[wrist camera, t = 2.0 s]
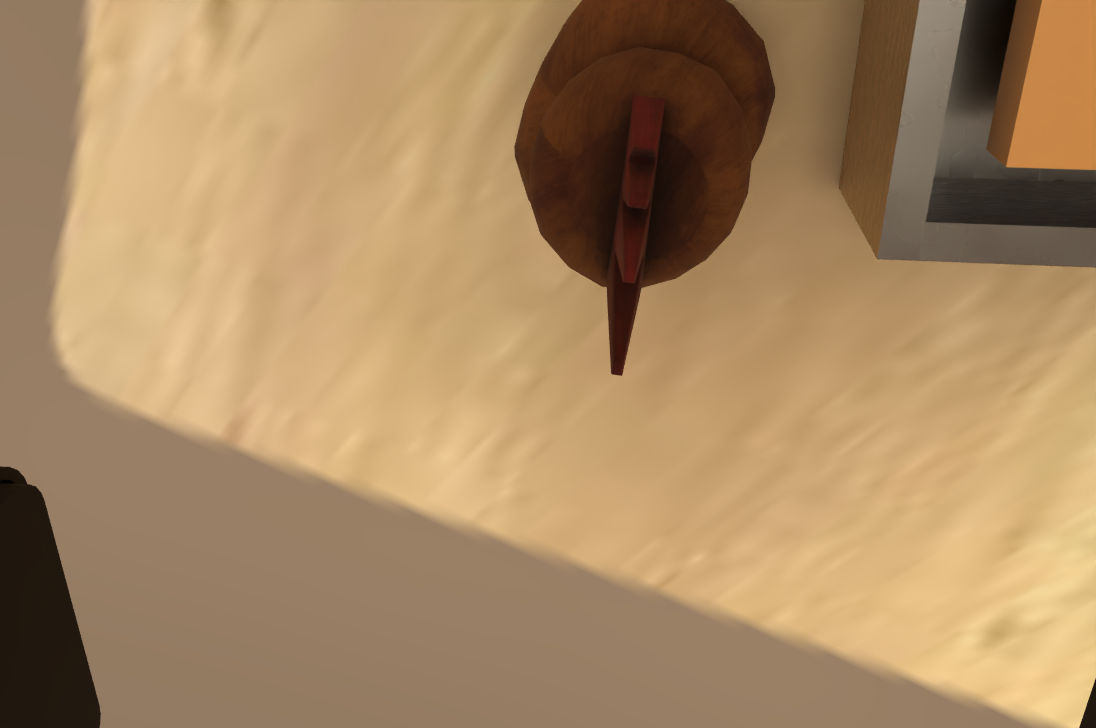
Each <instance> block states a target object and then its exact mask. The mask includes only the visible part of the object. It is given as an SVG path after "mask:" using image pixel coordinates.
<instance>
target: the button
mask: <svg viewBox="0 0 1096 728" xmlns="http://www.w3.org/2000/svg"><path fill="white" fill-rule="evenodd" d="M986 150H987V151H988V152H990V153H991V154H992V155H993V156H994V157H995V158H996V159H997V160H998V161H1000V162H1001V163H1002V164H1003V165H1004V166H1005V167H1015V168H1048V169H1081V170H1096V0H1017V2H1016V6H1015V11H1014V16H1013V21H1012V26H1011V31H1010V36H1009V40H1008V45H1007V50H1006V55H1005V60H1004V65H1003V70H1002V74H1001V79H1000V84H999V89H998V94H997V99H996V104H995V109H994V113H993V118H992V123H991V128H990V133H989V138H988V143H987V147H986Z"/></svg>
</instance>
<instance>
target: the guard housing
mask: <svg viewBox="0 0 1096 728" xmlns="http://www.w3.org/2000/svg"><path fill="white" fill-rule="evenodd" d="M1016 2H1017V0H865V7H864V14H863V21H862V28H861V35H860V42H859V49H858V57H857V64H856V71H855V78H854V85H853V92H852V99H851V106H850V114H849V121H848V128H847V135H846V142H845V149H844V156H843V164H842V171H841V178H840V185H839V189H840V191H841V193H842V195H843V196H844V198H845V200H846V202H847V204H848V206H849V208H850V209H851V211H852V213H853V215H854V217H855V219H856V221H857V222H858V224H859V226H860V228H861V230H862V232H863V233H864V235H865V237H866V239H867V241H868V243H869V245H870V246H871V248H872V250H873V252H874V254H875V256H876V258H877V259H889V260H915V261H941V262H967V263H993V264H1019V265H1046V266H1072V267H1096V170H1081V169H1048V168H1015V167H1005V166H1004V165H1003V164H1002V163H1001V162H1000V161H998V160H997V159H996V158H995V157H994V156H993V155H992V154H991V153H990V152H988V151H987V150H986V147H987V143H988V138H989V133H990V128H991V123H992V118H993V113H994V109H995V104H996V99H997V94H998V89H999V84H1000V79H1001V74H1002V70H1003V65H1004V60H1005V55H1006V50H1007V45H1008V40H1009V36H1010V31H1011V26H1012V21H1013V16H1014V11H1015V6H1016Z"/></svg>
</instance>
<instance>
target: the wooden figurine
mask: <svg viewBox="0 0 1096 728" xmlns="http://www.w3.org/2000/svg"><path fill="white" fill-rule="evenodd" d="M774 98H775V86H774V82H773V78H772V74H771V70H770V66H769V62H768V57H767V53H766V49H765V45H764V41H763V40H762V39H761V38H760V37H759V36H758V34H757V33H756V32H755V31H754V30H753V28H752V27H751V26H750V25H749V24H748V22H747V21H746V20H745V19H744V18H743V16H742V15H741V14H740V13H739V12H738V11H737V9H736V8H735V7H734V6H733V5H732V4H730V3H729V2H727V1H725V0H582V1H581V3H580V4H579V5H578V6H577V8H576V9H575V10H574V12H573V13H572V14H571V15H570V17H569V18H568V19H567V21H566V22H565V24H564V26H563V27H562V29H561V31H560V33H559V34H558V36H557V38H556V40H555V42H554V43H553V45H552V47H551V49H550V50H549V52H548V54H547V56H546V57H545V59H544V61H543V63H542V65H541V67H540V70H539V72H538V74H537V77H536V79H535V81H534V84H533V86H532V88H531V91H530V93H529V95H528V98H527V100H526V102H525V106H524V110H523V114H522V118H521V122H520V126H519V130H518V135H517V139H516V143H515V158H516V161H517V164H518V168H519V171H520V174H521V177H522V180H523V184H524V187H525V190H526V193H527V196H528V200H529V201H530V203H531V206H532V209H533V212H534V215H535V218H536V221H537V225H538V228H539V231H540V234H541V235H542V236H543V238H544V239H545V240H546V241H547V242H548V243H549V245H550V246H551V247H552V248H553V249H554V250H555V252H556V253H557V254H558V255H559V256H560V257H561V259H562V260H563V261H564V262H565V263H566V264H567V265H568V266H569V267H570V268H571V269H573V270H574V271H576V272H578V273H580V274H581V275H583V276H585V277H587V278H588V279H590V280H592V281H593V282H595V283H597V284H599V285H600V286H602V287H607V301H608V321H609V340H610V359H611V374H613V375H621V376H622V373H623V369H624V364H625V360H626V355H627V351H628V346H629V342H630V337H631V333H632V329H633V324H634V320H635V315H636V311H637V306H638V301H639V297H640V292H641V288H643V287H646V286H650V285H654V284H657V283H661V282H665V281H668V280H672V279H676V278H677V277H679V276H681V275H682V274H684V273H685V272H687V271H689V270H690V269H692V268H693V267H695V266H697V265H698V264H700V263H701V262H703V261H705V260H706V259H707V258H708V257H709V256H710V255H711V254H712V253H713V251H714V250H715V249H716V248H717V247H718V246H719V245H720V244H721V243H722V242H723V241H724V240H725V239H726V238H727V236H728V235H729V234H730V233H731V231H732V229H733V227H734V225H735V223H736V220H737V218H738V215H739V213H740V211H741V208H742V206H743V204H744V201H745V199H746V196H747V194H748V187H749V178H750V169H751V161H752V159H753V157H754V156H755V154H756V152H757V150H758V148H759V146H760V144H761V142H762V139H763V135H764V132H765V129H766V125H767V122H768V118H769V115H770V112H771V108H772V105H773V101H774Z"/></svg>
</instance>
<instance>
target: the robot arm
mask: <svg viewBox="0 0 1096 728" xmlns="http://www.w3.org/2000/svg"><path fill="white" fill-rule="evenodd" d="M100 715H101V713H100V706H99V702H98V699H97V695H96V691H95V687H94V683H93V680H92V676H91V673H90V669H89V665H88V661H87V657H86V654H85V650H84V646H83V643H82V639H81V635H80V631H79V628H78V624H77V621H76V616H75V613H74V609H73V605H72V602H71V598H70V594H69V590H68V587H67V583H66V579H65V575H64V572H63V568H62V564H61V561H60V557H59V553H58V550H57V546H56V542H55V538H54V535H53V531H52V527H51V523H50V520H49V516H48V512H47V508H46V505H45V501H44V498H43V496H42V494H41V492H40V491H39V490H38V489H37V487H35V486H32V485H28V484H27V482H26V480H25V478H24V476H23V475H22V474H21V473H20V472H19V471H18V470H16V469H13V468H11V467H0V728H99V726H100ZM1079 728H1096V679H1095V682H1094V685H1093V688H1092V691H1091V694H1090V697H1089V700H1088V703H1087V706H1086V709H1085V712H1084V715H1083V718H1082V721H1081V724H1080V727H1079Z"/></svg>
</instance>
